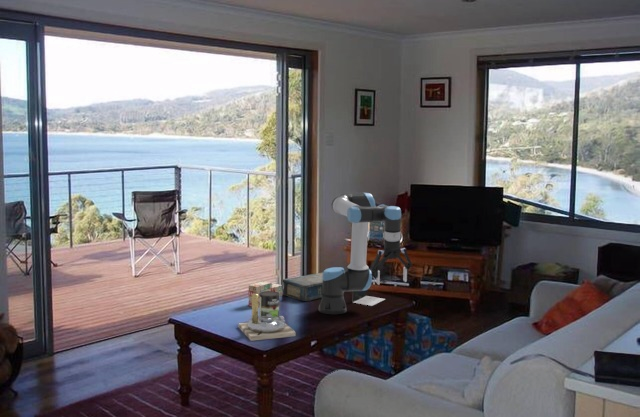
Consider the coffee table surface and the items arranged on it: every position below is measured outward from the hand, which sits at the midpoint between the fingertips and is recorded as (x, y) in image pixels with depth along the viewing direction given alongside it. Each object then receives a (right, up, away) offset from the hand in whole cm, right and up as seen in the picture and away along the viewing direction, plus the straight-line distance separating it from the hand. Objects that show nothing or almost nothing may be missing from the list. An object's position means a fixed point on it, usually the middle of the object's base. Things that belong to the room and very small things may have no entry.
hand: (391, 282), depth 316 cm
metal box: (-38, -17, +81) cm, 91 cm away
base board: (-60, -25, +7) cm, 65 cm away
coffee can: (-60, -23, +26) cm, 69 cm away
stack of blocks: (-65, -19, +58) cm, 89 cm away
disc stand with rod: (-60, -23, +6) cm, 64 cm away
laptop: (-6, -19, +67) cm, 70 cm away
